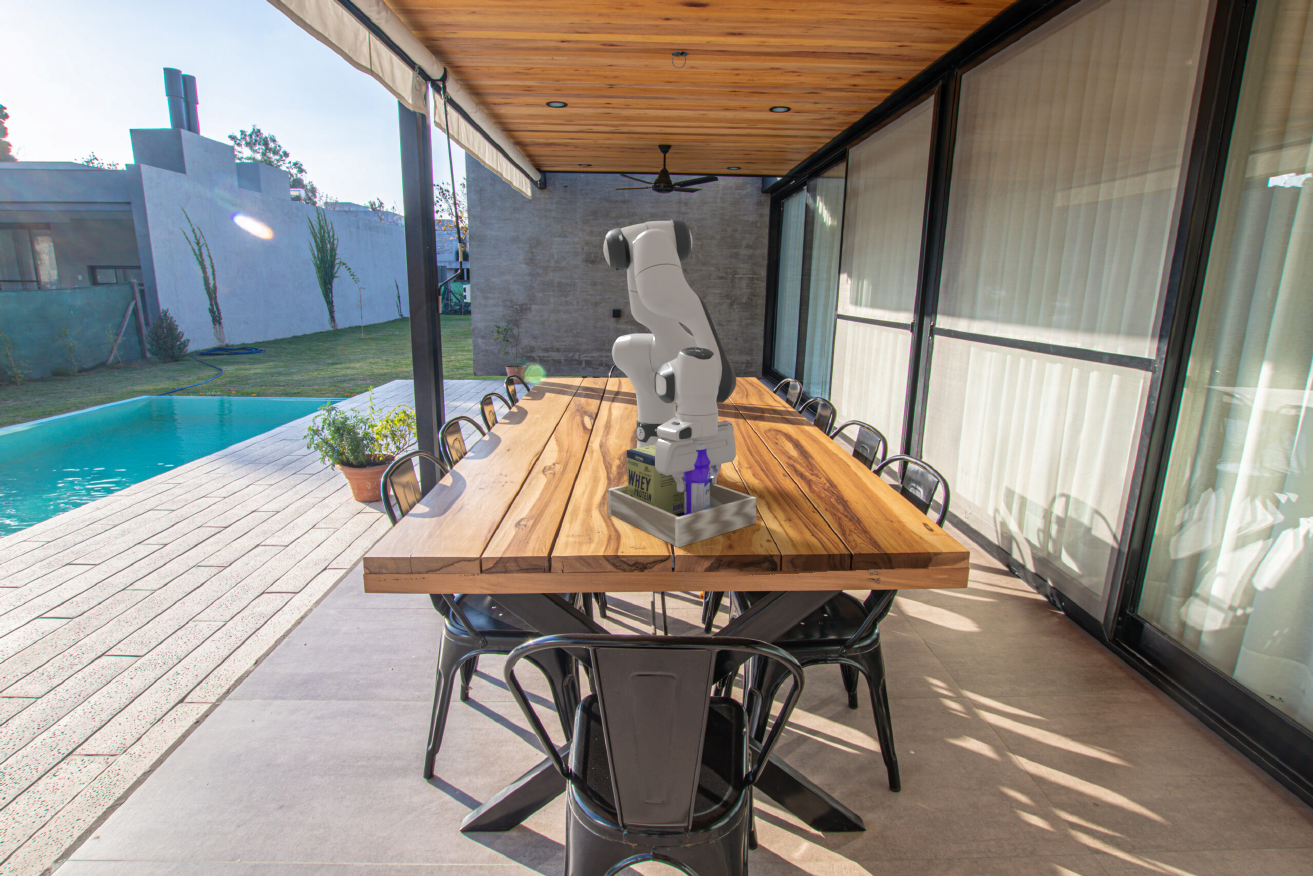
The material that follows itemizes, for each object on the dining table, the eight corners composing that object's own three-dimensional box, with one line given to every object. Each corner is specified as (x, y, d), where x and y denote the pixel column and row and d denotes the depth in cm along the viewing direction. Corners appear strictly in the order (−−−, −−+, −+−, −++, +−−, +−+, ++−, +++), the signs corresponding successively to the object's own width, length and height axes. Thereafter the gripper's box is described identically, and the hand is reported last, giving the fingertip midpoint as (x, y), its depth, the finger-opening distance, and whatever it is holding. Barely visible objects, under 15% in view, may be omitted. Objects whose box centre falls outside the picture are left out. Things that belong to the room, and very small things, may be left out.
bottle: (707, 525, 136) (708, 446, 133) (681, 523, 138) (681, 445, 134) (711, 514, 143) (712, 438, 139) (686, 512, 144) (686, 437, 141)
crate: (681, 495, 162) (681, 472, 161) (755, 523, 142) (756, 497, 140) (608, 513, 149) (607, 489, 148) (678, 547, 129) (678, 519, 128)
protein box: (626, 514, 149) (625, 449, 145) (678, 500, 158) (678, 439, 155) (653, 526, 141) (653, 458, 137) (706, 511, 150) (707, 447, 146)
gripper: (723, 417, 144) (722, 476, 147) (650, 429, 132) (651, 492, 136) (743, 421, 139) (741, 482, 142) (668, 434, 127) (669, 500, 131)
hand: (696, 487), depth 139 cm, fingers closed on bottle, 7 cm apart
